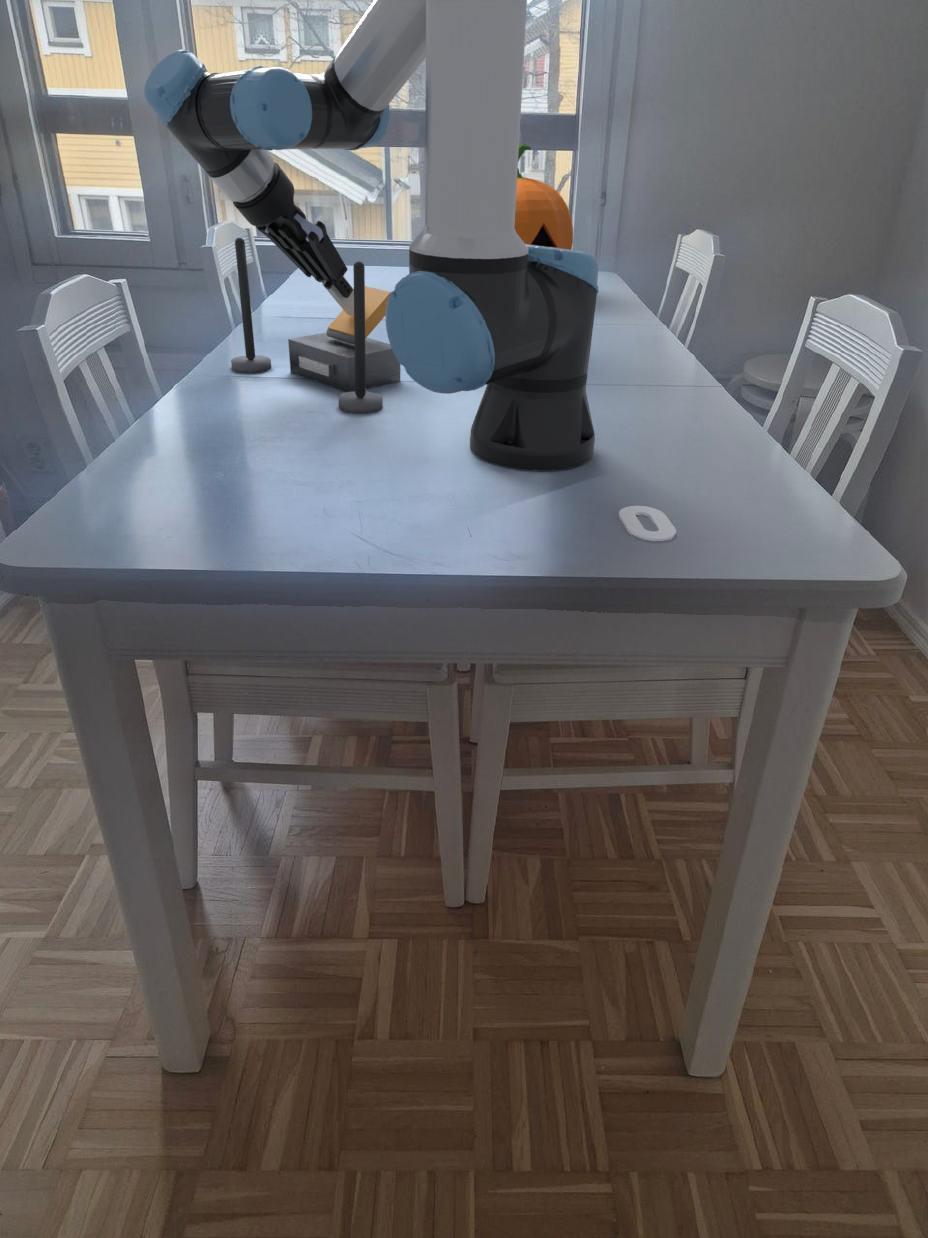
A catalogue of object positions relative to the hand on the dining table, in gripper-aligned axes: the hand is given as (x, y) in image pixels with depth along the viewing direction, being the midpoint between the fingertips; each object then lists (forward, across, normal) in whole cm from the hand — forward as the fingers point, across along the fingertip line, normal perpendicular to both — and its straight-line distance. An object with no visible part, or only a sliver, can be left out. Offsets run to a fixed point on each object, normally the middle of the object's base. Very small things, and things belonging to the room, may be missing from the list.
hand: (355, 307), depth 125 cm
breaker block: (+5, 0, +8) cm, 10 cm away
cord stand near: (0, -13, +14) cm, 20 cm away
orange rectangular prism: (+1, 0, +4) cm, 4 cm away
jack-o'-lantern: (+56, +31, -45) cm, 78 cm away
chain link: (-3, -62, +17) cm, 64 cm away
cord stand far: (0, +13, +14) cm, 19 cm away
